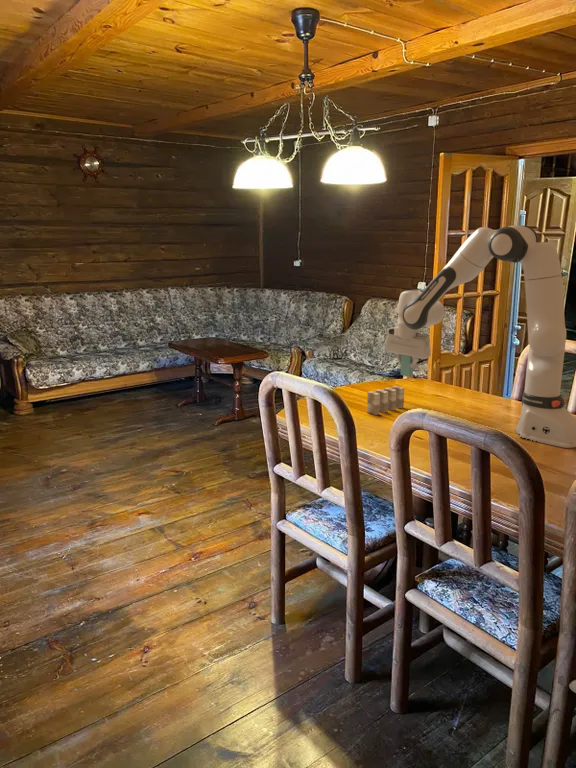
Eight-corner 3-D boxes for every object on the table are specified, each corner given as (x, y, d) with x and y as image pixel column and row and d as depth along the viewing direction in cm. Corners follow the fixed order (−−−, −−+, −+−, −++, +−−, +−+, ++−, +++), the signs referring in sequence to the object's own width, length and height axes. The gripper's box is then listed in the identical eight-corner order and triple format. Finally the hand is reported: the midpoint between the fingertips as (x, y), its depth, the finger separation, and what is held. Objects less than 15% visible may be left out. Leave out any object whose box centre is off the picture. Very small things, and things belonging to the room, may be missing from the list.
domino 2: (387, 411, 227) (388, 391, 225) (383, 412, 226) (384, 392, 224) (378, 409, 231) (379, 389, 229) (375, 410, 229) (375, 390, 227)
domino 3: (395, 409, 230) (396, 389, 228) (392, 410, 228) (392, 390, 226) (387, 407, 233) (387, 387, 231) (383, 408, 232) (384, 388, 230)
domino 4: (403, 407, 232) (404, 388, 230) (400, 408, 231) (400, 388, 229) (394, 405, 236) (395, 385, 234) (391, 406, 235) (392, 386, 233)
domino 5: (412, 376, 232) (413, 356, 230) (409, 376, 231) (410, 356, 229) (403, 373, 235) (404, 354, 234) (400, 374, 234) (401, 354, 232)
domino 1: (379, 414, 224) (380, 393, 222) (375, 415, 223) (376, 394, 221) (370, 411, 228) (371, 391, 226) (366, 412, 227) (367, 392, 225)
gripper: (435, 334, 223) (433, 370, 226) (394, 327, 238) (393, 361, 242) (424, 335, 219) (422, 372, 222) (383, 329, 235) (382, 363, 238)
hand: (406, 366), depth 232 cm, fingers closed on domino 5, 5 cm apart
